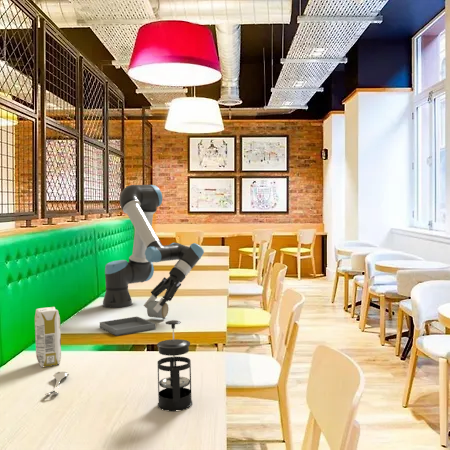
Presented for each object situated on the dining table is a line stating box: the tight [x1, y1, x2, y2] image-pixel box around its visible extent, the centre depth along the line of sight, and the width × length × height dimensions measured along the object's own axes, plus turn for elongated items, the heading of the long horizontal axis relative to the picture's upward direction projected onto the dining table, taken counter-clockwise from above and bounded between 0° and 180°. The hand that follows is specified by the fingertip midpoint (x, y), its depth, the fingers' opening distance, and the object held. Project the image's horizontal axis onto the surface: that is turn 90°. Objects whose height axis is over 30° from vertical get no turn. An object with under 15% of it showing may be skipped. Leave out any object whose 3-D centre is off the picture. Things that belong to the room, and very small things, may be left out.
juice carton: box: [34, 306, 62, 368], centre depth 188 cm, size 8×9×19 cm
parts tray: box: [99, 316, 157, 337], centre depth 237 cm, size 18×18×2 cm
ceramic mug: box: [146, 300, 169, 319], centre depth 255 cm, size 11×8×8 cm
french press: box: [156, 319, 193, 412], centre depth 148 cm, size 12×9×23 cm
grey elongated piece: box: [44, 371, 70, 396], centre depth 164 cm, size 20×4×5 cm
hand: (150, 309), depth 251 cm, fingers closed on ceramic mug, 9 cm apart
